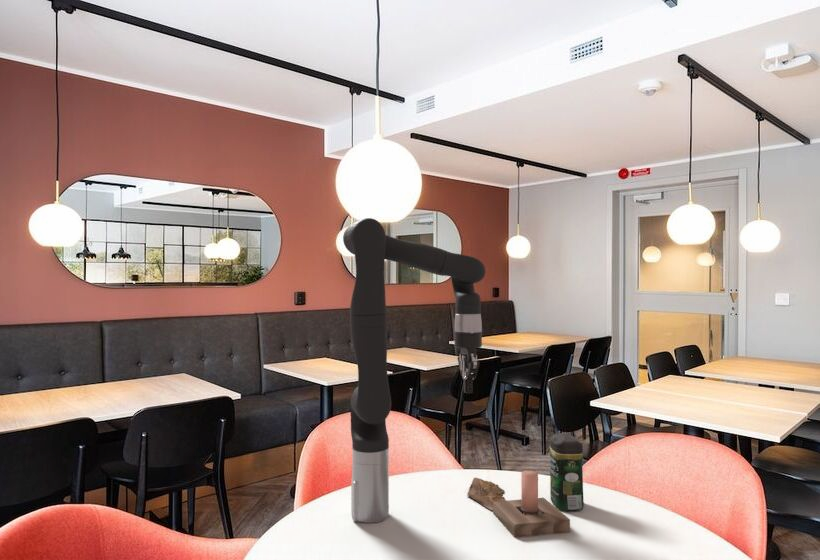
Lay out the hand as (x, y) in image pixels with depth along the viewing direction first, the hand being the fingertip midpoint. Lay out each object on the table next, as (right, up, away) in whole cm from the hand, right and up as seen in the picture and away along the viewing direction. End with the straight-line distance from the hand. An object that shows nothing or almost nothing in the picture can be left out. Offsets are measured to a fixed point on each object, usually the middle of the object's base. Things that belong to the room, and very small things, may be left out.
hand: (468, 392), depth 150 cm
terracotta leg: (+13, -29, -16) cm, 36 cm away
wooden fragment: (+5, -30, +3) cm, 30 cm away
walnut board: (+13, -29, -16) cm, 36 cm away
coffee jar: (+26, -29, -6) cm, 39 cm away
